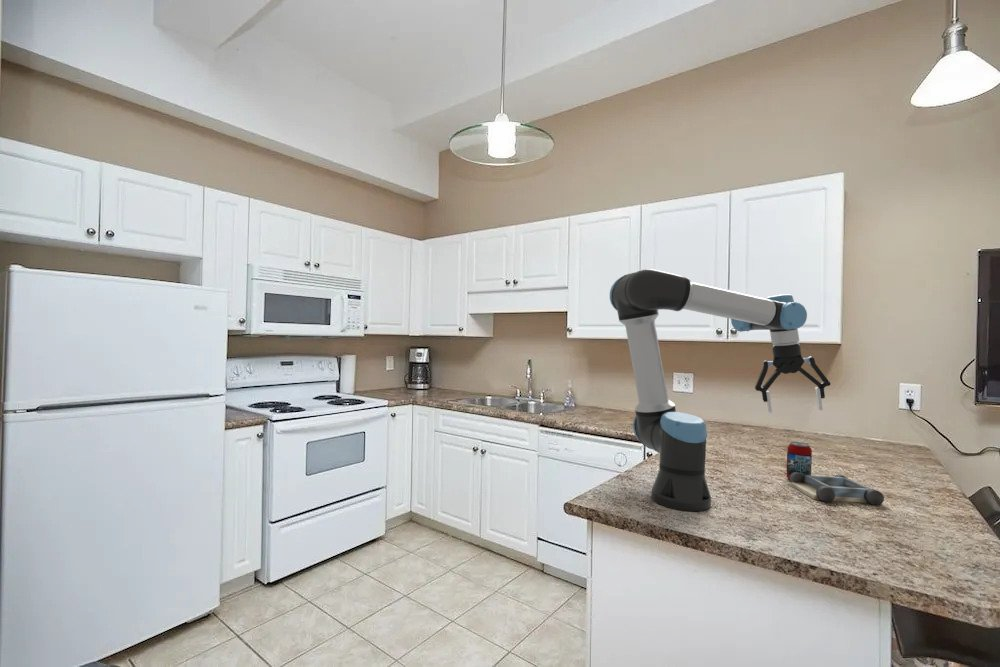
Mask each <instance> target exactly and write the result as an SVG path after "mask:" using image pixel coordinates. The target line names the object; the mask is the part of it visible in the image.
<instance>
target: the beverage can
mask: <svg viewBox="0 0 1000 667" xmlns="http://www.w3.org/2000/svg"><path fill="white" fill-rule="evenodd" d="M812 456H813V450H812V448H811V445H810V444H808V443H804V442H801V441H790V442H789V443H788V446H787V448H786V478H787V479H789V477H790V475H791V474H792V473H793V472H798V473H801V474H802V475H804V476H805V475H812V464H813V462H812V459H813V458H812Z"/></svg>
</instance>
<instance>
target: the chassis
mask: <svg viewBox="0 0 1000 667" xmlns="http://www.w3.org/2000/svg"><path fill="white" fill-rule="evenodd" d="M788 479H789V481H790V487H792V488H793V489H795V490H797V491H799V492H801V493H802V494H804V495H806V496H807V497H809V498H811V499H812V500H817V501H822V502H825V503H832V502H833V501H834V502H836V501H837V502H847V503H849V502H850V503H851V502H852V503H865V504H866V503H868V504H872V505H873V506H880V505H881V504H883V503H884V501H885V496H884V494H883V493H882V492H881V491H879V490H877V489H874V488H870V487H868V486H865V485H863V484H861V483H859V482H857V481H854V480H852V479H850V478H848V477H847V476H846V475H842V474H839V473H838V474H836V475H833V476H829V475H828V476H827V475H812V474H811V475H805V476H804V475H802V474H801V473H798V472H793V473H792V474H791V475H790V477H789V478H788Z"/></svg>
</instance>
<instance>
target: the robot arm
mask: <svg viewBox="0 0 1000 667" xmlns="http://www.w3.org/2000/svg"><path fill="white" fill-rule="evenodd" d="M609 302H610V304H611V306H612V308H614V309H615V311H617V315H618V322H620V323H621V324H622V325H624V327H625V331H626V337H627V343H628V348H629V354H630V360H631V365H632V371H633V376H634V382H635V388H636V393H637V398H638V404H637V405H636V406H635V408H634V411H635V412H634V413H635V417H634V418H633V421H632V430H633V434H634V436H635V438H636V439H637V440H638V441H639V442H640V444H642V445H643V446H644V447H646V448H648V449H649V450H653V451H655V452H657V453H659V465H658V473H657V476H656V478H655V480H654V482H653V485H652V489H651V499H652V500H653V501H654V502H656V503H657V504H659V505H661V506H662V507H663V506H664V507H666V508H669V509H675V510H679V511H685V512H686V511H687V512H704V511H707V510H709V509H710V508H711V506H712V497H711V494H710V490H709V486H708V483H707V480H706V452H707V449H706V448H707V438H708V432H707V423H706V422H705V420H704V419H703V418H700V417H699V416H697V415H694V414H689V413H686V412H681V411H680V412H679V411H676V404H675V403H674V402H673V401H671V400H670V399H669V397H668V390H667V385H666V379H665V372H664V368H663V362H662V356H661V355H662V354H661V351H660V343H659V339H658V333H657V327H656V319H657V318H658V316H660V315H659V314H660V313H659V310H660V311H661V310H665V311H666V310H670V311H673V312H681V311H682V310H687V311H692V312H698V313H702V314H706V315H712V316H716V317H722V318H725V319H730V323H731V326H732V327H733V329H734V330H736V331H737V332H739V333H740V332H742V333H743V332H750V331H762V330H763V331H767V330H769V334H770V341H771V344H772V346H771V348H772V356H773V357H772V358H773V360H768V361H767V360H766V359H765V360H763V361H762V369H761V371H760V373H759V376H758V379H757V381H756V383H755V386H754V389H755V390H756V391H758V392H761V396H762V401H763V403H767V404H766V405H767V411H768V413H770V414H771V413H773V411H772V402H771V396H770V391H769V388H771V386H772V385H773V383H774V382H775V381H776V380H777V378H778V377H779V376H780V375H782V374H784V375H787V374H796V373H798V372H799V373H801V374H802V375H803V376H804V377H805V378H807V379H809V381H811V382H812V383H813V384H815V385H816V387H814V390H815V397H816V404H817V409H818V410H819V411H823V403H822V402H823V401H822V399H825V398H826V396H825V387H830V386H831V382H830V381H829V379H828V378H827V377H826V376H825V374H824V372H822V370H821V369H820V368H819V366H818V365H817V363H816V361H815V358H814V357H813V356H811V355H810V356H808V357H803V356H802V350H801V344H800V343H799V342H800V336H799V329H800V328H801V327H803V326H804V325H805V324H806V321H807V319H808V311H807V309H806V307H805V306H804V305H803V304H802V303H799V302H795V301H794V297H793V295H791V294H790V293H787V294H786V293H785V294H778V295H771V296H767V297H766V298H764V297H759V296H754V295H750V294H747V293H746V294H745V293H743V292H742V293H741V292H737V291H732V290H727V289H723V288H719V287H714V286H710V285H706V284H703V283H702V284H701V283H697V282H692V281H691V279H690V278H688V277H687V276H683V275H678V274H676V273H670V272H666V271H661V270H658V269H650V268H647V269H641V270H639V271H636V272H631V273H627V274H624V275H623V276H621V277H619V278H617V279H616V280H615V281H614V283H613V284H612V285H611V287H610V290H609ZM804 363H806V364H807V365H809V366H810V367H811V368H812V369H813V371H814V372H815V373H816V374H817V376H818V377H819V379H820V380H821V381H822V382H820V381H818V379H817V378H815V377H814V376H813V375H811V374H810V373H809V372H808V371H807V370H805V369H804V368H802V366H803V365H804ZM772 365H773V367H775V369H774V371H773V373H772V374H771V375H770V377H769V378H768V379H767V380H766V382H765V383H764V384H763V382H764V380H765V378H766V375H767V372H768V369H770V368H771V366H772Z"/></svg>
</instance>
